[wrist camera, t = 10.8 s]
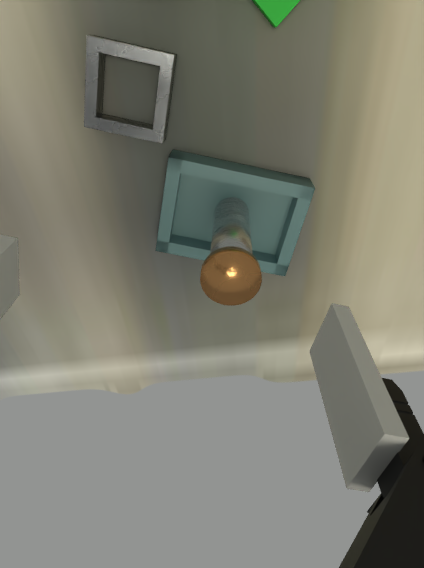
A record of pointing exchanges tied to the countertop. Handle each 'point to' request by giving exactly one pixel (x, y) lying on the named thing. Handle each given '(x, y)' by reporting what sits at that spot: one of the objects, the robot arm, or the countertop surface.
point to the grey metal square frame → (96, 86)
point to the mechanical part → (275, 9)
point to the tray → (223, 184)
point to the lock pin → (231, 256)
